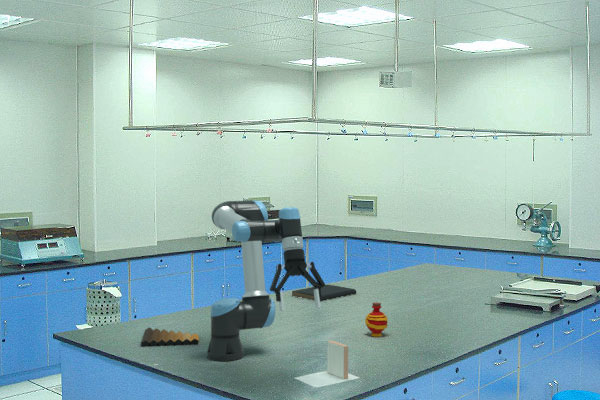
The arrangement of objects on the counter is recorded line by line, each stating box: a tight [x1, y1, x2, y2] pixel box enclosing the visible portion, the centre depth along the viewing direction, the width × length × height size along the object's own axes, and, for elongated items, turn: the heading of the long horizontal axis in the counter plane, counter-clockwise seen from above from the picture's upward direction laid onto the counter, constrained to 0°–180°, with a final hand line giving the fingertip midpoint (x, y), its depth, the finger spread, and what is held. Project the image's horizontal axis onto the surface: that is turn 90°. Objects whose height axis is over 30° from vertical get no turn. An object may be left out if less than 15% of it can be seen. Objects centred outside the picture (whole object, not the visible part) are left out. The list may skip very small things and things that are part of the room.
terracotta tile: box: [326, 340, 349, 379], centre depth 251 cm, size 2×10×12 cm, turn 35°
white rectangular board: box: [294, 370, 361, 389], centre depth 249 cm, size 20×14×1 cm
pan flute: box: [140, 326, 200, 348], centre depth 310 cm, size 25×3×25 cm
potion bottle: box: [364, 302, 389, 338], centre depth 315 cm, size 10×10×15 cm
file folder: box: [291, 284, 357, 302], centre depth 417 cm, size 33×4×24 cm
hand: (300, 309), depth 239 cm, fingers open, 13 cm apart
